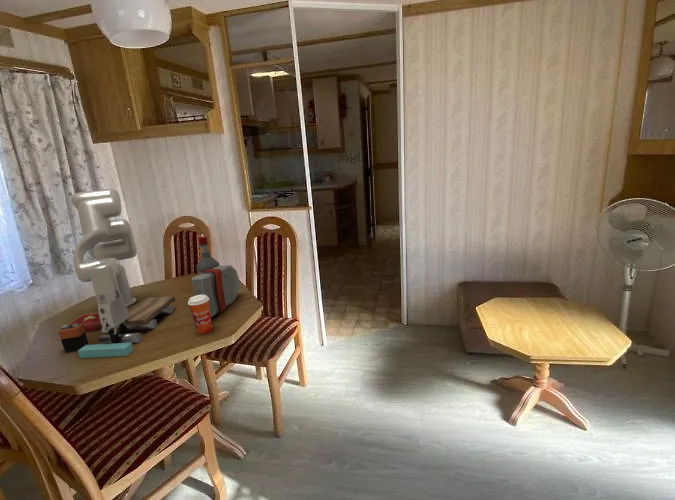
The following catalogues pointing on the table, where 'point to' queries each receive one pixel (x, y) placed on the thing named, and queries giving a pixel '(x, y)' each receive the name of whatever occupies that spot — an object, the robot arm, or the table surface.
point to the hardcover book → (89, 322)
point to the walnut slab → (147, 310)
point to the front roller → (143, 326)
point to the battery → (73, 337)
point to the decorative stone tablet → (217, 287)
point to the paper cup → (201, 313)
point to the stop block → (105, 350)
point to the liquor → (205, 257)
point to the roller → (122, 338)
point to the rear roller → (167, 310)
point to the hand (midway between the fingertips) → (120, 339)
